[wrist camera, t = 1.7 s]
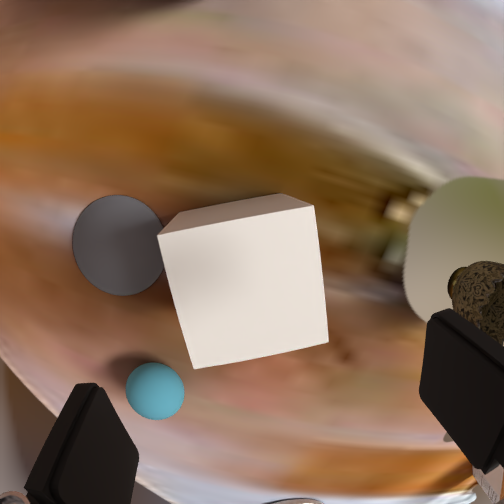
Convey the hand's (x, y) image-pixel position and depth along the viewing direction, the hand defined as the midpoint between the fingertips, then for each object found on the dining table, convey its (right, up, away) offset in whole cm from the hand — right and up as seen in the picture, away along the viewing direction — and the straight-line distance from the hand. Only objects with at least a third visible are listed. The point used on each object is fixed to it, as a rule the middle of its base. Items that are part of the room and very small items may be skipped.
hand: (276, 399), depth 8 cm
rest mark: (-11, +4, +16) cm, 20 cm away
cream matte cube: (-2, +4, +17) cm, 17 cm away
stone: (+20, +1, +20) cm, 28 cm away
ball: (-9, -8, +16) cm, 20 cm away
